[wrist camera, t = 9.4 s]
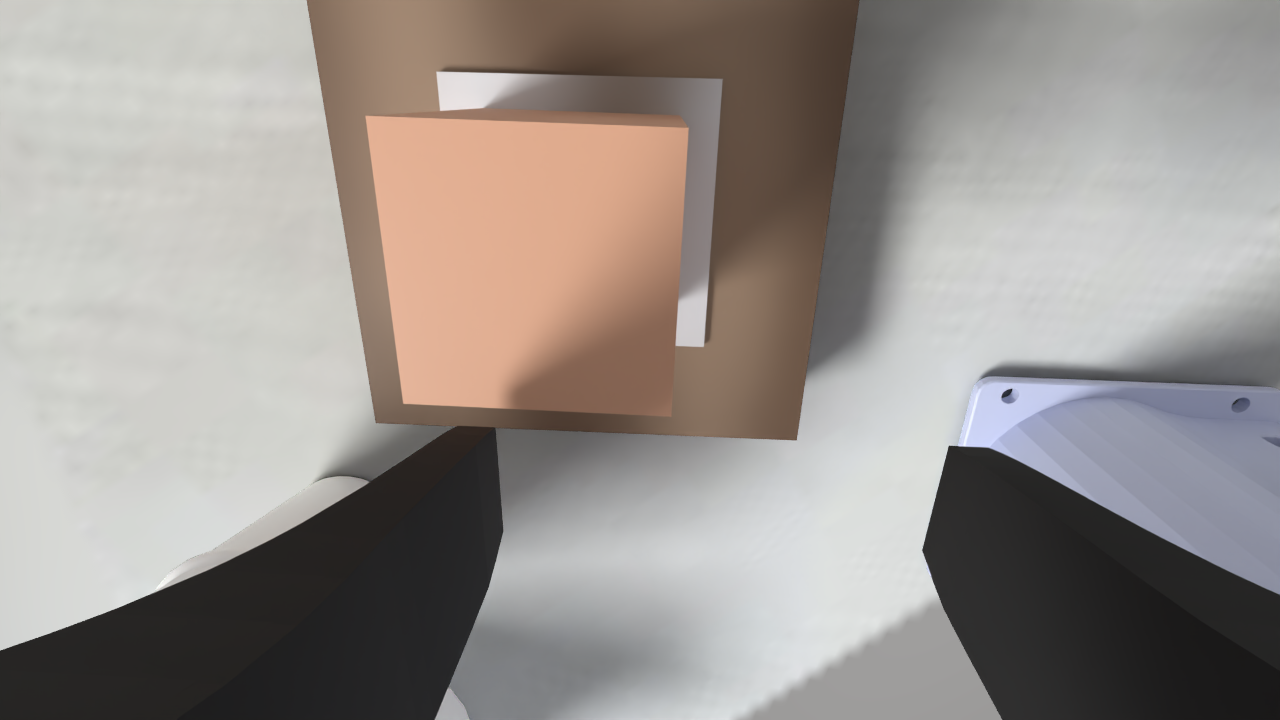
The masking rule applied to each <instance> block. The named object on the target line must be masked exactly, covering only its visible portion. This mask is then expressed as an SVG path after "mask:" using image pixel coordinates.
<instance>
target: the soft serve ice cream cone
mask: <svg viewBox="0 0 1280 720" xmlns="http://www.w3.org/2000/svg"><path fill="white" fill-rule="evenodd" d="M368 483H369V481H366V480H364V479H361V478H355V477H350V476H336V477H330V478H325V479H322V480H319V481H316V482H314V483H313V484H311V485H310V486H308V487H307V488H305V489H304V490H302V491H301V492H299V493H298V494H296V495H295V496H293V497H292V498H290V499H289V500H287V501H286V502H284V503H283V504H281V505H280V506H278V507H277V508H275V509H274V510H272V511H271V512H269V513H268V514H266V515H265V516H263V517H262V518H260V519H259V520H257V521H256V522H254V523H252V524H251V525H249V526H248V527H246V528H245V529H243V530H242V531H240V532H239V533H237V534H236V535H234V536H233V537H231V538H230V539H228V540H227V541H225V542H224V543H222V544H221V545H219V546H218V547H216V548H215V549H213V550H212V551H209V552H206V553H204V554H201V555H198V556H195V557H193V558H190V559H188V560H187V561H185V562H184V563H182V564H181V565H179V566H177V567H176V568H174V569H173V570H172V571H171V572H170V573H169V574H168V575H167V576H166V577H165V578H164V579H163V581H162V582H161V583H160V584H159V585H158V587H157V588H156V590H155V592H157V591H160V590H162V589H164V588H167V587H169V586H171V585H174V584H176V583H178V582H181V581H183V580H186V579H188V578H190V577H193V576H195V575H197V574H200V573H202V572H205V571H207V570H209V569H211V568H213V567H216V566H218V565H220V564H222V563H224V562H226V561H228V560H230V559H232V558H234V557H236V556H238V555H241V554H243V553H245V552H247V551H249V550H251V549H253V548H255V547H257V546H259V545H261V544H263V543H265V542H267V541H269V540H271V539H273V538H275V537H276V536H278V535H280V534H282V533H284V532H286V531H288V530H290V529H291V528H293V527H295V526H297V525H299V524H301V523H302V522H304V521H306V520H308V519H309V518H311V517H313V516H314V515H316V514H318V513H319V512H321V511H323V510H324V509H326V508H328V507H329V506H331V505H333V504H334V503H336V502H338V501H340V500H341V499H343V498H345V497H346V496H348V495H350V494H351V493H353V492H355V491H356V490H358V489H360V488H361V487H363V486H365V485H366V484H368ZM155 592H154V593H155Z"/></svg>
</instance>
